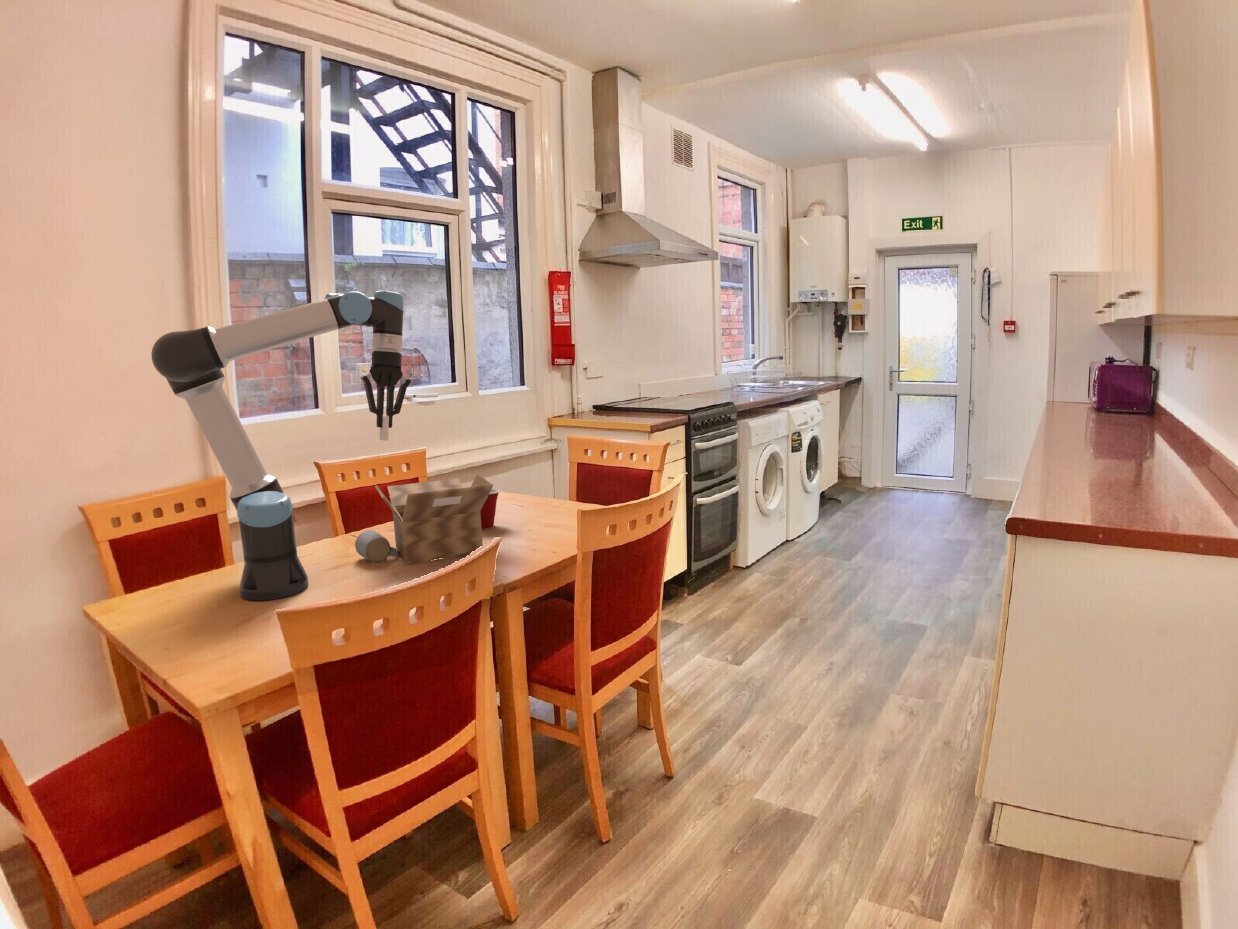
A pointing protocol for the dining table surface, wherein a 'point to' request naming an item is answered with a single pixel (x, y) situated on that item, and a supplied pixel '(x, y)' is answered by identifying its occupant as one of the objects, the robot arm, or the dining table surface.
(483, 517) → the plastic cup
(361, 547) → the ceramic mug
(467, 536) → the shipping carton
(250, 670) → the dining table surface
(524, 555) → the dining table surface
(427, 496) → the carton flap
